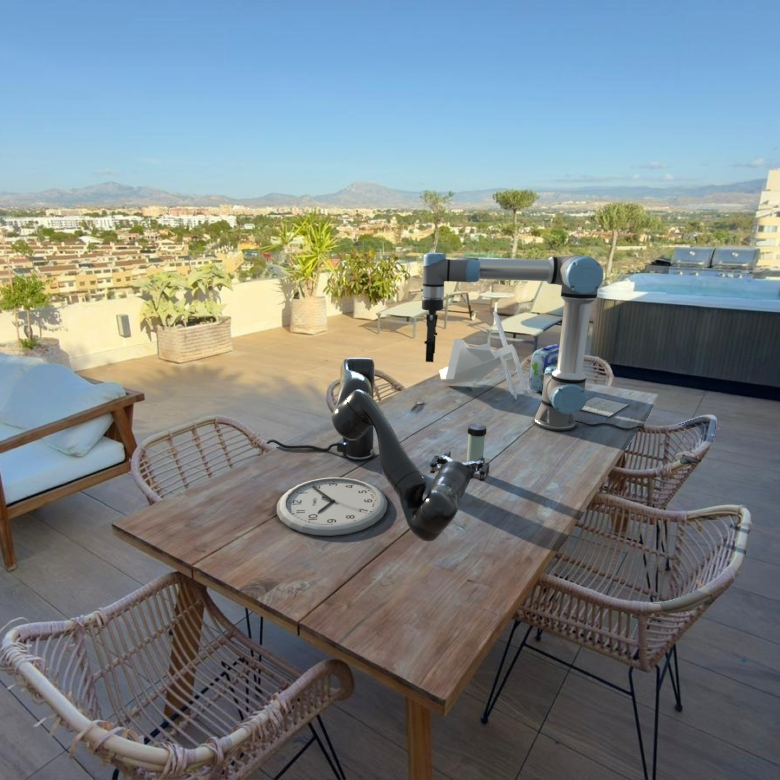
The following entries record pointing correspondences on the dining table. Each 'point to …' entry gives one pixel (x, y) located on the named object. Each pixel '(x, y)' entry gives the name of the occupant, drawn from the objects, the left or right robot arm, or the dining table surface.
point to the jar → (475, 448)
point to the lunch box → (542, 365)
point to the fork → (418, 403)
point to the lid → (477, 429)
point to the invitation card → (603, 406)
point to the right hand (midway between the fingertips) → (430, 357)
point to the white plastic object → (482, 362)
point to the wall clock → (331, 506)
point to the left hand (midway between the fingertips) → (465, 456)
